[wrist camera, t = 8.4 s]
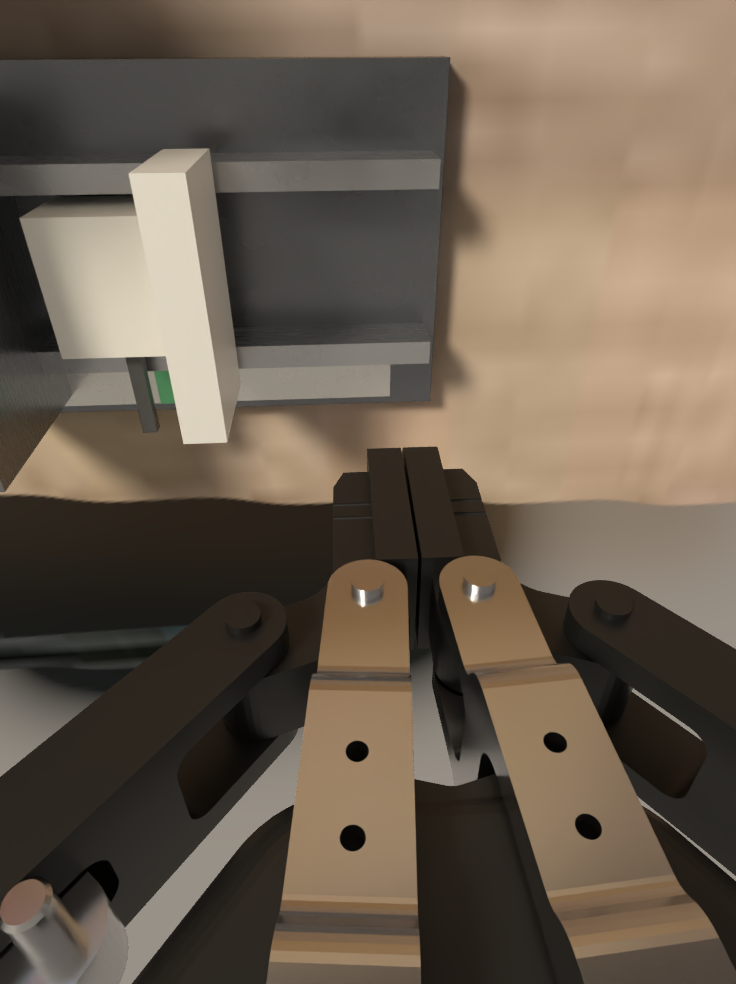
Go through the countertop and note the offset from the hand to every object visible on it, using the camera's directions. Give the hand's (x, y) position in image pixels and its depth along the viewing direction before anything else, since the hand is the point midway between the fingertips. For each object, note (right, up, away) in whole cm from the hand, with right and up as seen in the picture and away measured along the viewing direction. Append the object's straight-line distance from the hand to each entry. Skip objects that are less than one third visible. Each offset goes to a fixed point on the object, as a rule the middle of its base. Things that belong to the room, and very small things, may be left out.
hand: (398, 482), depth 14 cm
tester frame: (-8, +10, +14) cm, 19 cm away
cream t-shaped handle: (-10, +9, +13) cm, 18 cm away
